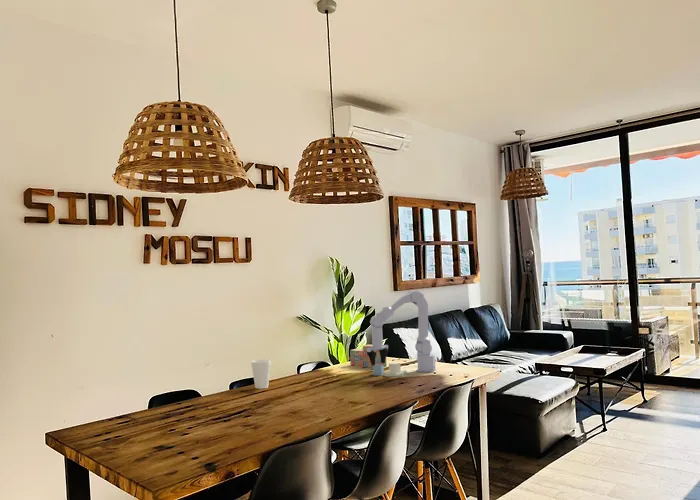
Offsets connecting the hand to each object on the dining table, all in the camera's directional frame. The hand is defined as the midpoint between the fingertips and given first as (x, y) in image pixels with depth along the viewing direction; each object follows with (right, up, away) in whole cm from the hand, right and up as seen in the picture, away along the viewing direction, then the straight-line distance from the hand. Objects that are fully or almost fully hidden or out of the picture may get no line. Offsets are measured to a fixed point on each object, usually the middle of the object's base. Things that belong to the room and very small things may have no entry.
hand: (378, 364), depth 284 cm
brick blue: (0, -6, 0) cm, 6 cm away
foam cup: (-59, -7, -21) cm, 63 cm away
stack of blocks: (-4, -7, +27) cm, 28 cm away
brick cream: (+9, -4, -2) cm, 10 cm away
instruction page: (+1, -6, +11) cm, 13 cm away
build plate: (+9, -5, -2) cm, 11 cm away
